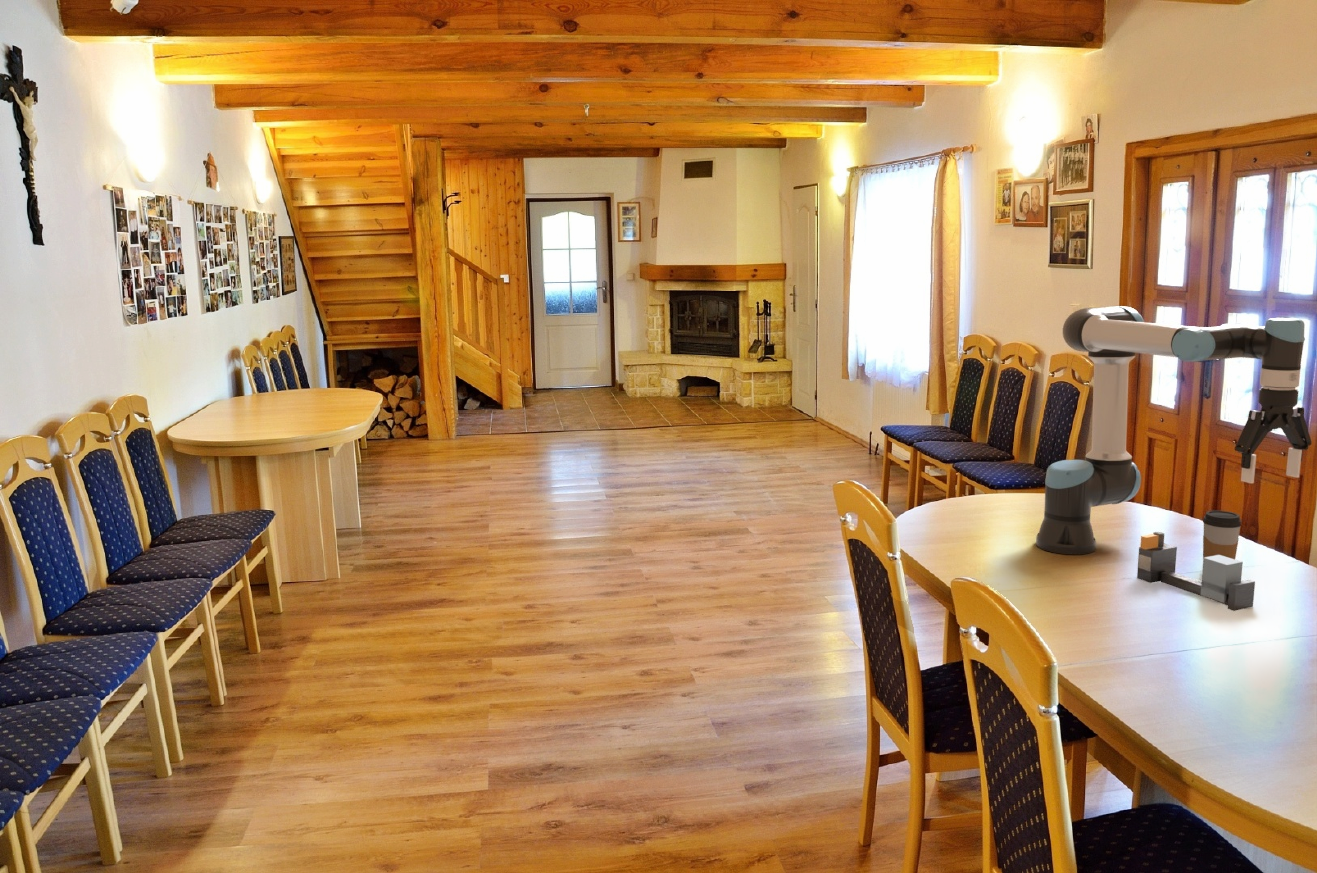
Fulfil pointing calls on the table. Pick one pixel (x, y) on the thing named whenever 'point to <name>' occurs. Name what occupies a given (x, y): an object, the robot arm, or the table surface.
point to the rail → (1184, 583)
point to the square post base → (1241, 595)
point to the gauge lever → (1152, 540)
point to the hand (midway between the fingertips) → (1270, 479)
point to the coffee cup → (1221, 533)
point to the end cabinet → (1156, 562)
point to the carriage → (1219, 576)
